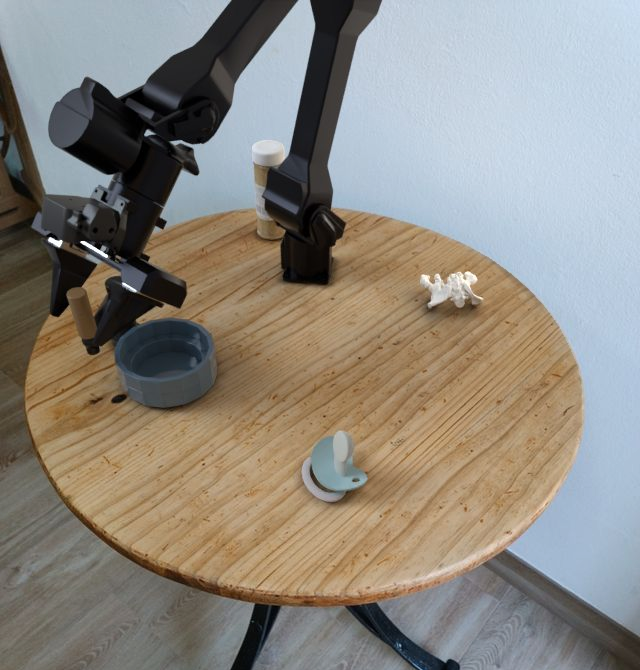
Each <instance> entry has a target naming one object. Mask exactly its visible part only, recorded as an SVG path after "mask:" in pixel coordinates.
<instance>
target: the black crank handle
mask: <svg viewBox="0 0 640 670" xmlns="http://www.w3.org/2000/svg"><path fill="white" fill-rule="evenodd" d="M108 278H109V279H111V280H114V281H116V282H119V283H121V284H122V283H123V282H122V279H121V275H113V276H110V277H108ZM108 278H107V279H106V280H105V281H104V288H105V291H106V295H105V296H104V298H103V300H102V301H101V303H100V305H99V306H98V308H97V310H96V312H95V314H94V313H93V309H92V305H91V301H90V299H89V295H88V292H87V289H86V288H84V287H83V286H82V287H75V288H72V289H70V290H69V291H68V292H67V298H68V302H69V309H70V311H71V315H72V317H73V321H74V324H75V328H76V330H77V331H76V332H77V333H78V336H79V338H81V343H82V345H83V346H84V347H85V349H86V350H85V351H86V353H87V355H89V356H96V355H98V354H99V353H100V352H101V347H100V346H97V345H95V344H93V340H94V336H95V333H96V330H97V328H98V325H99V323H100V320H101V318H102V316H103V313H104V311H105V308H106V306H107V304H108V301H109V299H110V290H109V285H108ZM137 323H138V322H137V319H136V320H135V321H134V322H132V323H131V324H130V325H128V326H127V327H126V328H124V329H123V330H122V331H121V332H119V333H118V334H117V335H118V336H119V337H120V338H121V337H122V336H123V335H124V334H125V333H127V332H128V331H129V330H130V329H132V328H133V327H135V326H137Z"/></svg>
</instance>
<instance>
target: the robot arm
mask: <svg viewBox="0 0 640 670" xmlns="http://www.w3.org/2000/svg"><path fill="white" fill-rule="evenodd" d="M298 2H299V0H230V1H229V2H228V4H227V5H226V6H225V8H224V9H223V10H222V11H221V12H220V14H219V15H218V16H217V18H216V19H215V20H214V22H213V23H212V24H211V25H210V27H208V29H207V30H206V32H205V33H204V34H203V36H202V37H201V38H199V40H198V41H196V43H194V44H193V45H192V46H189V47H187V48H185V49H183V50H181V51H179V52H177V53H174V54H172V55H171V56H170V57H169V58H168V59H167V60H166V61H164V62H163V63H162V64H161V65H160V66H159V67H157V69H155V70H154V71H153V72H152V73H151V74H150V75H149V76H148V78H147V80H145V83H143V84H142V85H140V86H138V87H136V88H134V89H132V90H130V91H128V92H125V93H124V94H122V95H120V96H118V97H116V96H115V95H114V94H113V93H112V92H111V90H110V89H108V88H107V87H106V86H105V85H104V84H102V83H100V82H99V81H97V80H95V79H93V78H92V77H90V76H85V77H84V78H83V80H82V82H81V84H80V86H78V87H75V88H73V89H71V90H69V91H67V92H66V93H65V94H64V95H63V96H62V97H61V98H60V99H59V101H56V102H55V103H54V104H53V107H52V108H51V109H52V110H51V111H50V115H49V119H48V124H47V125H48V126H47V132H48V138H49V140H50V142H51V144H52V145H53V146H55V147H56V148H57V149H59V150H61V151H63V152H65V153H66V154H68V155H69V156H71V157H73V158H75V159H76V160H78V161H80V162H82V163H84V165H87V166H89V167H91V168H93V169H94V170H96V171H98V172H99V173H101V174H103V175H106V176H112V177H111V179H110V181H109V184H108V187H105V186H103V185H101V184H98V186H96V187H95V188H93V191H92V193H91V195H90V196H89V197H85V196H79V195H69V194H53V193H46V194H43V199H42V209H40V210H38V211H37V212H36V215H35V216H34V218H33V221H32V224H31V226H30V228H31V229H33V230H34V231H35V232H38V233H40V234H41V235H42V236H44V237H46V238H47V239H46V238H43V237H41V238H40V241H41V244H42V245H44V246H45V248H46V250H47V253H48V254H49V257H50V259H51V262H52V265H51V267H52V270H51V271H52V272H51V273H52V275H51V287H50V288H51V289H50V298H49V299H50V300H49V315H50V316H52V317H55V318H59V317H61V316H62V314H64V313H65V311H66V310H67V309H68V307H70V305H69V302H68V298H67V292H68V291H69V290H70V289H72V288H75V287H82V288H83V286H84V285H85V283H86V282H87V280H88V279H89V278H90V276H91V275H92V273H93V272H94V271H95V269H96V268H97V266H98V263H97V262H96V261H93V260H91V258H88V257H87V255H89V256H91V257H94V258H95V259H97V260H99V261H100V262H102V263H104V264H105V265H107V266H109V267H111V268H112V269H114V270H116V271H117V272H119V274H120V276H121V279H122V282H123V283H122V284H121V283H119V282H116V281H114V280H111V279H109V278H110V277H108V278H107V279H108V285H109V290H110V299H109V301H108V304H107V306H106V308H105V311H104V313H103V316H102V318H101V320H100V323H99V325H98V328H97V330H96V333H95V336H94V340H93V344H95V345H97V346H99V347H103V346H105V345H106V344H107V343H109V341H111V339H112V338H113V337H114V336H116V335H117V334H118V333H119V332H121V331H122V330H123V329H124V328H126V327H127V326H128V325H130V324H131V323H132V322H134V321H135V320H136V321H137V320H138V319H140V318H141V317H142V316H145V314H148V312H150V311H152V310H153V309H155V308H156V307H157V308H160V309H162V308H164V306H165V304H166V305H169V306H171V307H174V308H177V309H179V310H181V308H182V306H183V305H184V302H185V301H186V298H187V296H188V293H189V292H188V286H187V281H185V280H184V279H183V278H181V277H179V276H176V275H175V274H173V273H171V272H170V271H168V270H167V269H164V268H162V267H159V266H158V265H155V264H153V263H151V262H149V261H150V260H151V256H150V255H148V254H147V253H144V251H145V250H146V248H147V245H148V244H149V241H150V238H151V236H152V235H153V232H154V230H155V228H158V229H160V230H162V231H164V229H165V227H166V225H167V224H168V221H167V220H166V219H164V218H162V217H161V215H162V214H163V211H164V209H165V207H166V205H167V202H168V201H169V198H170V196H171V194H172V191H173V189H174V187H175V185H176V184H177V181H178V180H179V177H180V175H181V173H182V171H184V172H186V173H188V174H189V175H192V176H194V177H198V176H199V175H200V171H201V170H200V168H199V165H198V162H197V160H196V157H195V148H193V147H191V146H194V145H200V144H201V145H205V144H206V143H208V142H209V141H211V140H212V139H213V138H214V136H215V135H216V134H217V132H218V130H219V129H220V127H221V125H222V124H223V122H224V120H225V118H226V117H227V115H228V113H229V111H230V109H231V108H232V106H233V102H234V94H235V87H236V84H237V82H238V81H239V78H240V77H241V75H242V74H243V72H245V70H246V68H247V67H248V66H249V65H250V64H251V62H252V61H253V60H254V58H255V57H256V56H257V54H258V53H259V52H260V50H261V49H262V48H263V47H264V45H265V44H266V43H267V42H268V40H270V38H271V36H272V35H273V34H274V33H275V31H276V30H277V29H278V27H279V26H280V25H281V24H282V22H284V20H285V18H286V17H287V16H288V14H289V13H291V11H292V10H293V8H294V7H295V6H296V4H297V3H298ZM382 2H383V0H309V5H310V9H311V12H312V16H313V20H314V21H313V22H314V31H313V36H312V40H311V46H310V49H309V54H308V59H307V64H306V69H305V74H304V79H303V84H302V89H301V94H300V98H299V103H298V108H297V111H296V119H295V122H294V128H293V132H292V137H291V142H290V146H289V147H290V148H289V151H288V154H287V156H285V160H284V161H283V162H282V163H281V164H280V165H279V166H278V168H276V167H270V168H269V170H268V172H267V183H266V187H265V190H264V192H263V194H262V198H264V199H265V204H264V207H265V211H267V213H268V215H269V217H270V218H272V219H273V220H274V223H275V225H276V226H278V227H281V228H283V229H284V230H286V231H285V234H284V235H283V237H281V242H280V244H279V245H280V247H279V248H280V249H279V250H280V269H281V270H282V271H283V273H282V277H281V278H282V280H283V281H284V282H293V283H303V284H315V285H323V286H325V285H328V284H329V283H330V279H331V274H332V269H333V265H334V261H335V260H334V259H335V257H334V256H333V247H334V246H336V243H337V241H338V240H341V239H342V238H343V236H344V232H345V228H346V225H347V222H346V221H345V220H344V219H342V218H341V216H339V215H338V214H336V213H335V212H333V211H332V204H333V197H334V188H333V183H332V179H331V175H330V170H329V160H330V157H331V152H332V147H333V143H334V139H335V134H336V131H337V126H338V123H339V118H340V113H341V109H342V105H343V101H344V97H345V93H346V88H347V85H348V80H349V76H350V71H351V67H352V64H353V59H354V54H355V52H356V51H355V50H356V47H357V43H358V40H359V37H360V36H361V34H362V33H363V32H364V31H365V30H366V29H367V27H368V26H369V25H370V24H371V23H372V21H373V20H374V19H375V18H376V17H377V15H378V14H379V11H380V8H381V5H382ZM147 131H149V132H151V134H148V135H145V134H146V132H147ZM178 141H182V142H183V143H182V142H179V143H177V144H174V143H173V142H178ZM184 143H186V144H184ZM187 144H188V145H187ZM189 145H191V146H189ZM102 247H105V250H102Z"/></svg>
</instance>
